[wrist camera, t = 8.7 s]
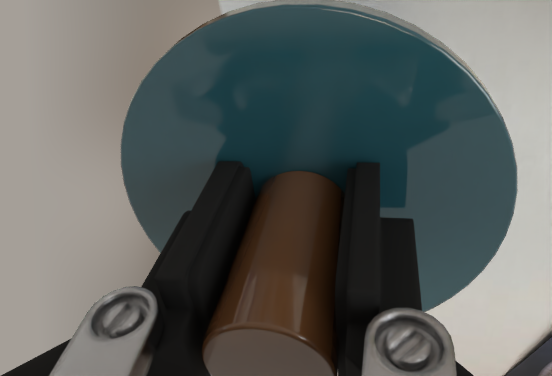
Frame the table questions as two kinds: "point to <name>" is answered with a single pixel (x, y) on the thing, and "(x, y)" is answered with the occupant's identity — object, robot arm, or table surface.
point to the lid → (317, 164)
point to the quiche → (536, 363)
